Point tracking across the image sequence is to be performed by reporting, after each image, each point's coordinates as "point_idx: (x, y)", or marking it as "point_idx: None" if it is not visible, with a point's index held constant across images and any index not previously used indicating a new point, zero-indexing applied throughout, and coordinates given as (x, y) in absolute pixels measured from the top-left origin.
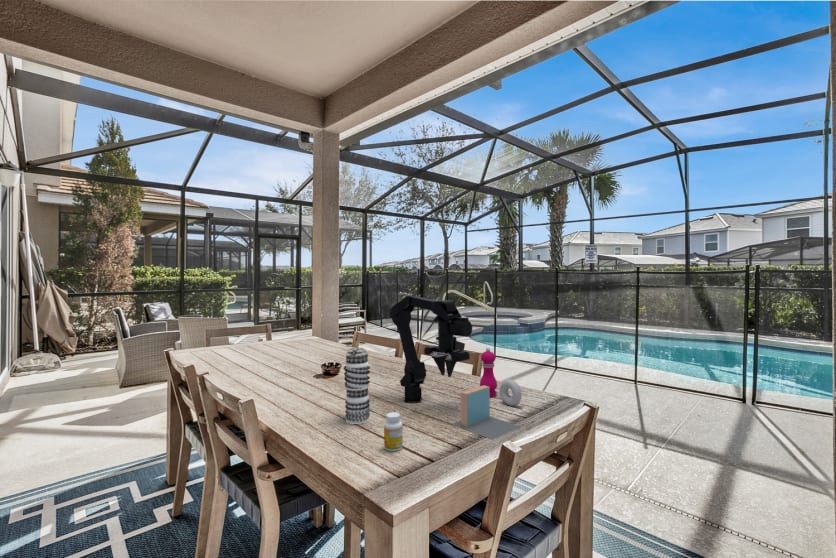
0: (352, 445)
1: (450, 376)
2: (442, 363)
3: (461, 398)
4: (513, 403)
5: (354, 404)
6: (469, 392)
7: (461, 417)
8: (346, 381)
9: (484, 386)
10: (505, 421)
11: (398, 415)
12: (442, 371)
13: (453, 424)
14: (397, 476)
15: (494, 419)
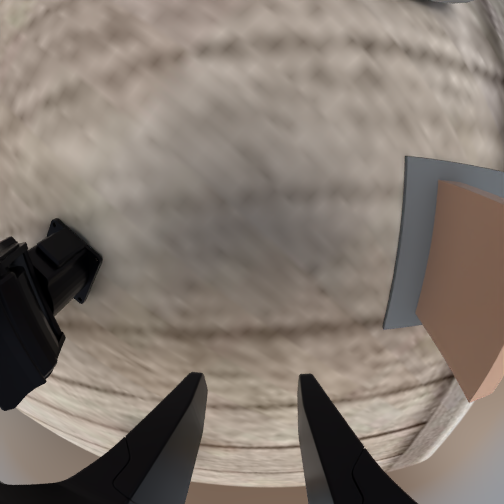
0: (277, 469)
1: (311, 381)
2: (162, 496)
3: (461, 381)
4: (442, 2)
5: None
6: (501, 374)
7: (428, 329)
8: None
9: None
10: (501, 172)
11: None
12: (200, 425)
13: (391, 328)
14: (399, 455)
15: (475, 182)
